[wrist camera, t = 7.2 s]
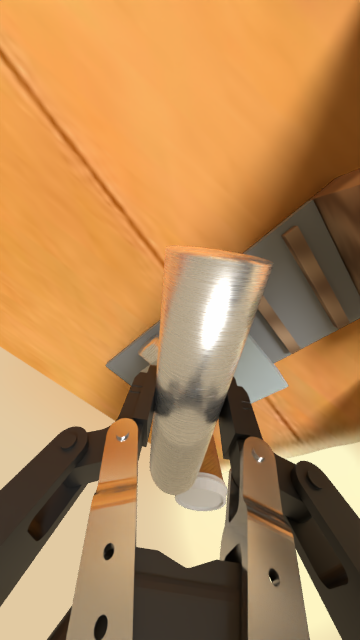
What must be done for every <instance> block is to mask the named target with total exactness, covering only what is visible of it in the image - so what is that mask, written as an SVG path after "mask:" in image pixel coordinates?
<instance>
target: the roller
mask: <svg viewBox="0 0 360 640" xmlns="http://www.w3.org/2000/svg"><path fill="white" fill-rule="evenodd" d="M273 264H274V263H273V262H271V261H269V260H266V259H263V258H259V257H255V256H251V255H246V254H241V253H236V252H231V251H224V250H218V249H211V248H202V247H193V246H167V247H166V252H165V266H164V279H163V292H162V306H161V319H160V332H159V346H158V359H157V372H156V394H155V408H154V415H153V426H152V439H151V454H150V471H151V476H152V478H153V480H154V482H155V484H156V485H157V486H158V487H159V488H160V489H161V490H162V491H164V492H166V493H168V494H171V495H178V494H182V493H184V492H186V491H188V490H189V489H190V488H191V487H192V486H193V484H194V483H195V481H196V479H197V476H198V473H199V470H200V468H201V465H202V462H203V459H204V456H205V454H206V451H207V448H208V445H209V443H210V440H211V437H212V434H213V431H214V429H215V426H216V423H217V420H218V417H219V415H220V412H221V409H222V406H223V403H224V401H225V398H226V395H227V392H228V390H229V387H230V384H231V381H232V378H233V376H234V373H235V370H236V367H237V364H238V362H239V359H240V356H241V353H242V351H243V348H244V345H245V342H246V339H247V337H248V334H249V331H250V328H251V325H252V323H253V320H254V317H255V314H256V311H257V309H258V306H259V303H260V300H261V298H262V295H263V292H264V289H265V286H266V284H267V281H268V278H269V275H270V272H271V270H272V267H273Z"/></svg>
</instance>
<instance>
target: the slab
mask: <svg viewBox="0 0 360 640" xmlns="http://www.w3.org/2000/svg"><path fill="white" fill-rule="evenodd" d="M150 365H156V366H157V360H156V361H154V362H153V363H152V364H150ZM150 365H149V366H150ZM149 366H147V367H146V368H145V369H143V370H142V371H140V372H145V373H147V372H148V369H149ZM233 377H235V379H236V383H237V386H242V387H243V388H244V389H245V391H246V392H247V393H248V396H249V399H250V404H251V403H253V402H256V401H258V400H260V399H262V398H264V397H266V396H269V395H271V394H273V393H275V392H277V391H279V390H282V389H284V388H286V387H288V384H287V383H286V381H285V379H284V378H283V376H282V375H281V373H280V372H279V370H278V369H277V367H276V366H275V365H274V364H273V363H272V361H271V360H270V359H269V358H268V356H267V355H266V354H265V353H264V351H263V350H262V349H261V348H260V347H259V345H258V344H257V343H256V342H255V340H254V339H253V338H252V337H251V335H250V334H248V337H247V339H246V342H245V345H244V348H243V351H242V353H241V356H240V359H239V362H238V364H237V367H236V370H235V373H234V376H233Z"/></svg>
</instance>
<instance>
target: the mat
mask: <svg viewBox="0 0 360 640" xmlns="http://www.w3.org/2000/svg"><path fill="white" fill-rule="evenodd" d="M293 226H298V227H299V229H300V231H301V233H302V235H303V236H304V238H305V240H306V242H307V244H308V246H309V248H310V249H311V251H312V253H313V255H314V257H315V259H316V261H317V262H318V264H319V266H320V268H321V270H322V272H323V274H324V275H325V277H326V279H327V281H328V283H329V285H330V287H331V288H332V290H333V292H334V294H335V296H336V298H337V299H338V301H339V303H340V305H341V307H342V309H343V311H344V312H345V314H346V316H347V318H348V320H349V322H350V323H352V322H354V321H356V320H358V319H359V318H360V296H359V294H358V292H357V290H356V288H355V286H354V284H353V281H352V279H351V277H350V275H349V273H348V271H347V269H346V267H345V265H344V263H343V261H342V259H341V257H340V255H339V253H338V250H337V248H336V246H335V244H334V242H333V240H332V238H331V236H330V234H329V232H328V230H327V228H326V226H325V224H324V222H323V219H322V217H321V215H320V213H319V211H318V209H317V207H316V205H315V203H314V201H313V200H310V201H307V202H306V203H305V204H303V205H302V206H301V207H300V208H298V209H297V210H296V211H295V212H294V213H292V214H291V215H290V216H289V217H287V218H286V219H285V220H284V221H282V222H281V223H280V224H279V225H277V226H276V227H275V228H274V229H272V230H271V231H270V232H269V233H267V234H266V235H265V236H264V237H262V238H261V239H260V240H259V241H258V242H256V243H255V244H254V245H253V246H251V247H250V248H249V249H248V250H246V251H245V252H244V253H243V254H246V255H251V256H255V257H259V258H263V259H266V260H269V261H271V262H273V263H274V264H273V267H272V270H271V272H270V275H269V278H268V281H267V284H266V286H265V289H264V292H263V296H264V297H265V299H266V300H267V302H268V303H269V305H270V306H271V307H272V309H273V310H274V312H275V313H276V314H277V316H278V317H279V319H280V320H281V322H282V323H283V324H284V326H285V327H286V329H287V330H288V331H289V333H290V334H291V336H292V337H293V338H294V340H295V341H296V343H297V344H298V346H299V347H300V348H301V349H302V348H304V347H306V346H308V345H310V344H312V343H314V342H316V341H317V340H319V339H321V338H323V337H325V336H327V335H329V334H331V333H333V332H335V331H337V330H338V328H336V327H335V326H334V325H333V324H332V322H331V320H330V318H329V317H328V315H327V313H326V312H325V310H324V308H323V307H322V305H321V303H320V301H319V300H318V298H317V296H316V295H315V293H314V291H313V289H312V288H311V286H310V284H309V283H308V281H307V279H306V277H305V276H304V274H303V272H302V271H301V269H300V267H299V265H298V264H297V262H296V260H295V259H294V257H293V255H292V253H291V252H290V250H289V248H288V247H287V245H286V243H285V241H284V240H283V238H282V236H281V235H282V234H284V233H285V232H286V231H287V230H289V229H290V228H291V227H293ZM159 332H160V320H159V321H158V322H157V323H156V324H154V325H153V326H152V327H151V328H150V329H148V330H147V331H146V332H145V333H143V334H142V335H141V336H140V337H138V338H137V339H136V340H135V341H133V342H132V343H131V344H130V345H128V346H127V347H126V348H125V349H123V350H122V351H121V352H120V353H118V354H117V355H116V356H115V357H114V358H112V359H111V360H110V361H109V362H107V364H106V365H105V366H106V367H108V368H109V369H110V370H111V371H113V372H114V373H115V374H117V375H118V376H119V377H120V378H122V379H123V380H124V381H126V382H127V383H128V384H129V385H131V386H132V383H133V380H134V378H135V377H136V376H137V375H138V374H139V373H140V371H142V370H143V369H145V368H146V367H147V366H149V365H150V364H149V363H148V362H147V361H146V360H145V359H144V358H142V357H141V356H140V355H139V354H138V352H139V350H140V348H141V347H142V345H143V344H144V343H145V342H146V341H147V340H148V339H149V338H150V337H151V336H153V335H155V334H156V335H158V336H159ZM249 334H250V335H251V337H252V338H253V339H254V340H255V342H256V343H257V344H258V345H259V347H260V348H261V349H262V350H263V351H264V353H265V354H266V355H267V356H268V358H269V359H270V360H271V361H272V363H273V364H274V363H275V362H277V361H279V360H281V359H283V358H285V357H287V356H289V355H291V353H290V352H289V350H288V349H287V348H286V346H285V345H284V344H283V342H282V341H281V340H280V338H279V337H278V336H277V334H276V333H275V332H274V330H273V329H272V328H271V326H270V325H269V323H268V322H267V321H266V319H265V318H264V317H263V315H262V314H261V313H260V311H259V310H258V309H257V311H256V314H255V317H254V320H253V323H252V325H251V328H250V331H249Z"/></svg>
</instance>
